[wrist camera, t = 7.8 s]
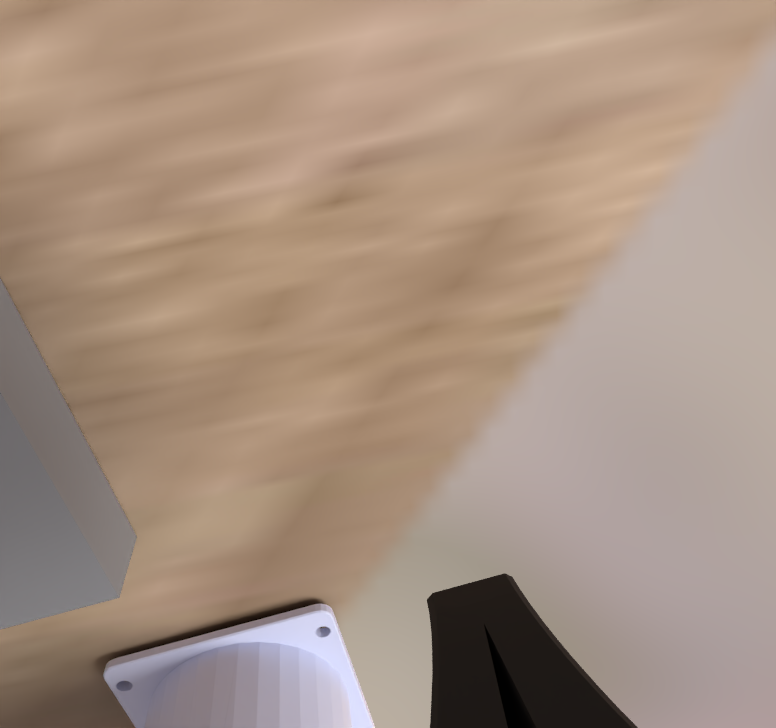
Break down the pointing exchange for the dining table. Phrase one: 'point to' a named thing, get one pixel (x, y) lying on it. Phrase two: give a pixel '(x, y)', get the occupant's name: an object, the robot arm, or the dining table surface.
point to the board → (50, 494)
